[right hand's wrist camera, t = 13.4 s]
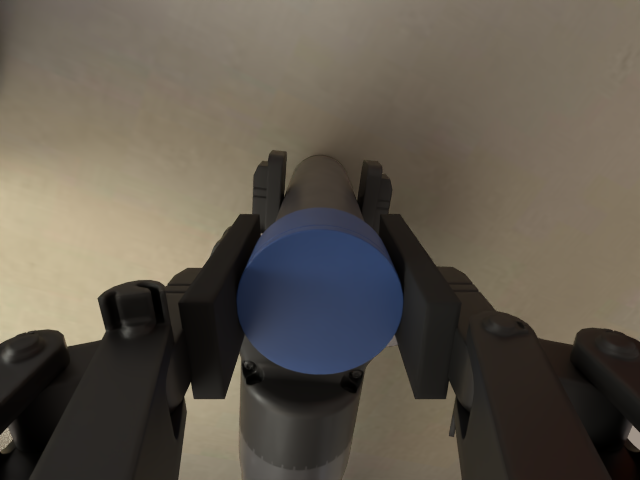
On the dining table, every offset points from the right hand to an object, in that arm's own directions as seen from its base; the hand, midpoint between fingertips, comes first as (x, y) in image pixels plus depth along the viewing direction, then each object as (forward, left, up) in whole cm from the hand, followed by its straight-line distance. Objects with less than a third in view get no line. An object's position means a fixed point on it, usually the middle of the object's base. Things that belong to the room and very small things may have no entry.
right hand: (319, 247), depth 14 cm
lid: (0, 0, +4) cm, 4 cm away
